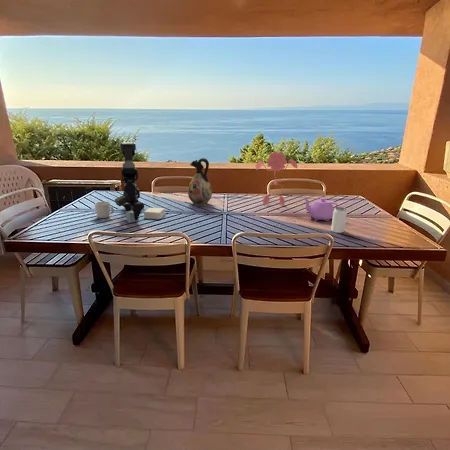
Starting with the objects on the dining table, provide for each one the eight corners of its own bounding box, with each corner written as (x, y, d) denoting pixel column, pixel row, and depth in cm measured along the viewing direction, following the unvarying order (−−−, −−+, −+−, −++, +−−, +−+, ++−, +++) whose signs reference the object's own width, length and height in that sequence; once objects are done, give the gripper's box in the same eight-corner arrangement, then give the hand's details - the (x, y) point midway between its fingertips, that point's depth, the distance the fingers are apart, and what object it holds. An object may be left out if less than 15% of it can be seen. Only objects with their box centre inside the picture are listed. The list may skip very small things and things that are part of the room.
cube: (138, 221, 188) (138, 212, 187) (130, 222, 185) (129, 213, 184) (134, 218, 192) (134, 210, 190) (126, 220, 189) (125, 211, 187)
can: (329, 229, 180) (331, 207, 177) (341, 229, 181) (344, 206, 177) (333, 233, 174) (336, 210, 171) (346, 233, 175) (349, 210, 171)
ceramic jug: (183, 205, 220) (182, 158, 210) (194, 200, 233) (194, 155, 224) (208, 209, 214) (208, 160, 204) (217, 203, 227) (218, 157, 218)
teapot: (303, 221, 192) (305, 200, 189) (300, 214, 206) (302, 194, 202) (339, 223, 191) (342, 201, 187) (334, 216, 204) (337, 195, 200)
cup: (118, 216, 195) (117, 202, 193) (109, 220, 188) (108, 206, 186) (102, 214, 198) (100, 200, 196) (92, 218, 191) (91, 204, 189)
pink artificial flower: (253, 203, 230) (255, 149, 218) (292, 204, 229) (296, 150, 218) (254, 209, 215) (257, 152, 203) (296, 210, 215) (301, 153, 203)
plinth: (144, 218, 193) (143, 211, 192) (149, 214, 202) (149, 207, 200) (159, 219, 192) (159, 212, 191) (164, 215, 201) (164, 208, 199)
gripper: (108, 189, 185) (111, 216, 190) (123, 195, 172) (125, 225, 176) (128, 186, 192) (130, 213, 197) (144, 192, 178) (145, 221, 183)
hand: (132, 218), depth 188 cm, fingers open, 9 cm apart
